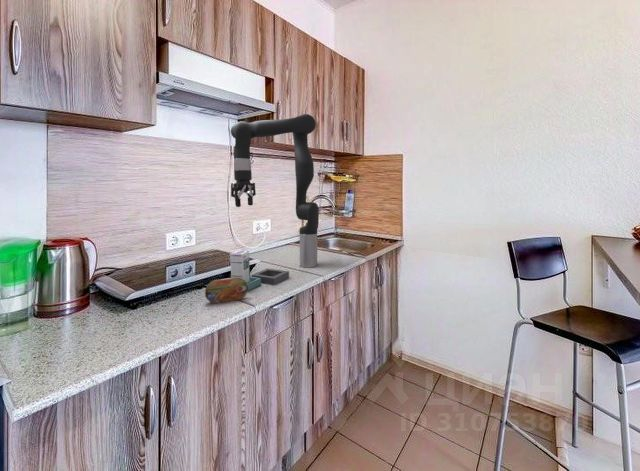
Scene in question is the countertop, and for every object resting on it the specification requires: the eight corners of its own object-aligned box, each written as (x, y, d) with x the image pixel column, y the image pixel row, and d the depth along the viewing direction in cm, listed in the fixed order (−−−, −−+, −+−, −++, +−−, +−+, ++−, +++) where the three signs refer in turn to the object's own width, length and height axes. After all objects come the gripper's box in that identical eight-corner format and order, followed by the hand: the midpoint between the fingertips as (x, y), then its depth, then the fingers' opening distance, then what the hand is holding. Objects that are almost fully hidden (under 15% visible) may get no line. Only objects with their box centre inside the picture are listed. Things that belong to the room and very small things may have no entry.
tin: (206, 305, 111) (204, 282, 109) (205, 302, 113) (204, 279, 112) (248, 299, 116) (247, 277, 115) (246, 296, 119) (246, 275, 118)
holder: (267, 274, 148) (267, 268, 147) (289, 277, 143) (288, 271, 142) (251, 281, 137) (251, 274, 137) (274, 285, 132) (274, 278, 131)
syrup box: (244, 288, 126) (243, 253, 123) (231, 287, 127) (229, 252, 125) (250, 284, 131) (249, 250, 129) (238, 283, 133) (236, 250, 130)
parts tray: (239, 281, 137) (239, 274, 137) (261, 285, 132) (260, 278, 132) (220, 289, 127) (220, 282, 126) (243, 293, 122) (243, 286, 121)
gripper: (246, 170, 146) (247, 204, 149) (224, 169, 133) (227, 207, 136) (259, 169, 143) (260, 205, 145) (238, 168, 130) (240, 207, 133)
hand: (244, 206), depth 141 cm, fingers open, 8 cm apart
